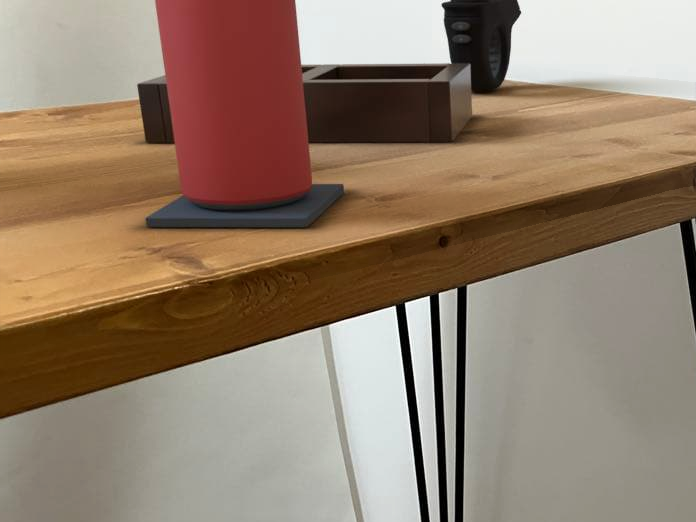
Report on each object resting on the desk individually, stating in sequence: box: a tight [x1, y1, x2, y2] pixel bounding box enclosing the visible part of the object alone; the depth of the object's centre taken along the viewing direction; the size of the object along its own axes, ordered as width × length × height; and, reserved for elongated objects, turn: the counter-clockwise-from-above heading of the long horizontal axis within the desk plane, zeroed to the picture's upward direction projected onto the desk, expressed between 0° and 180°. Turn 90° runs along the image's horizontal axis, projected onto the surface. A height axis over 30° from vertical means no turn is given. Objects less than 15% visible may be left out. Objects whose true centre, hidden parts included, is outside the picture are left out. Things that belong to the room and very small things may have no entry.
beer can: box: [154, 0, 313, 211], centre depth 55 cm, size 7×7×12 cm
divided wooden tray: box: [136, 62, 473, 144], centre depth 81 cm, size 22×12×4 cm, turn 86°
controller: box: [440, 0, 522, 93], centre depth 99 cm, size 4×12×10 cm, turn 164°
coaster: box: [145, 183, 345, 229], centre depth 58 cm, size 8×8×1 cm
